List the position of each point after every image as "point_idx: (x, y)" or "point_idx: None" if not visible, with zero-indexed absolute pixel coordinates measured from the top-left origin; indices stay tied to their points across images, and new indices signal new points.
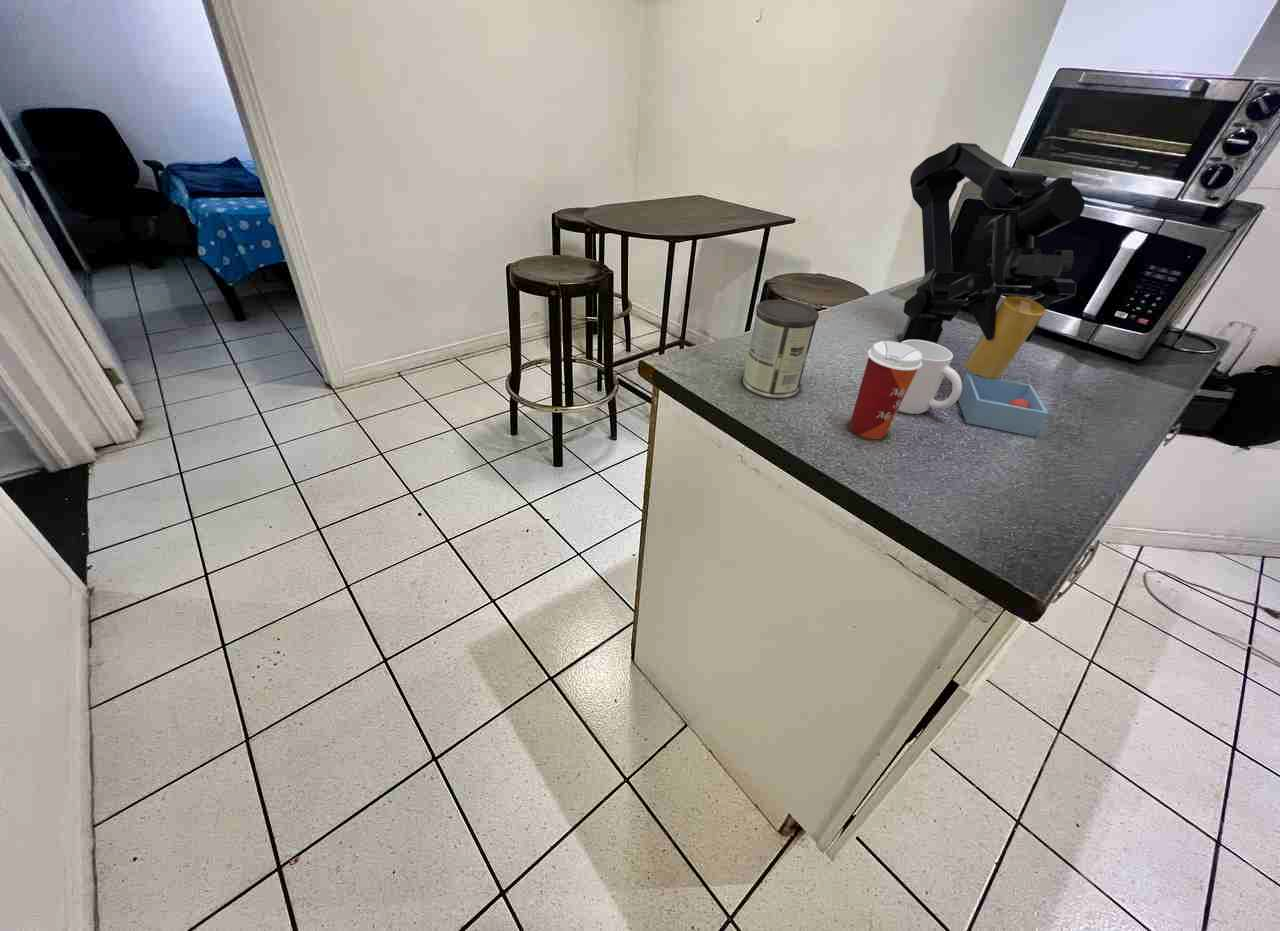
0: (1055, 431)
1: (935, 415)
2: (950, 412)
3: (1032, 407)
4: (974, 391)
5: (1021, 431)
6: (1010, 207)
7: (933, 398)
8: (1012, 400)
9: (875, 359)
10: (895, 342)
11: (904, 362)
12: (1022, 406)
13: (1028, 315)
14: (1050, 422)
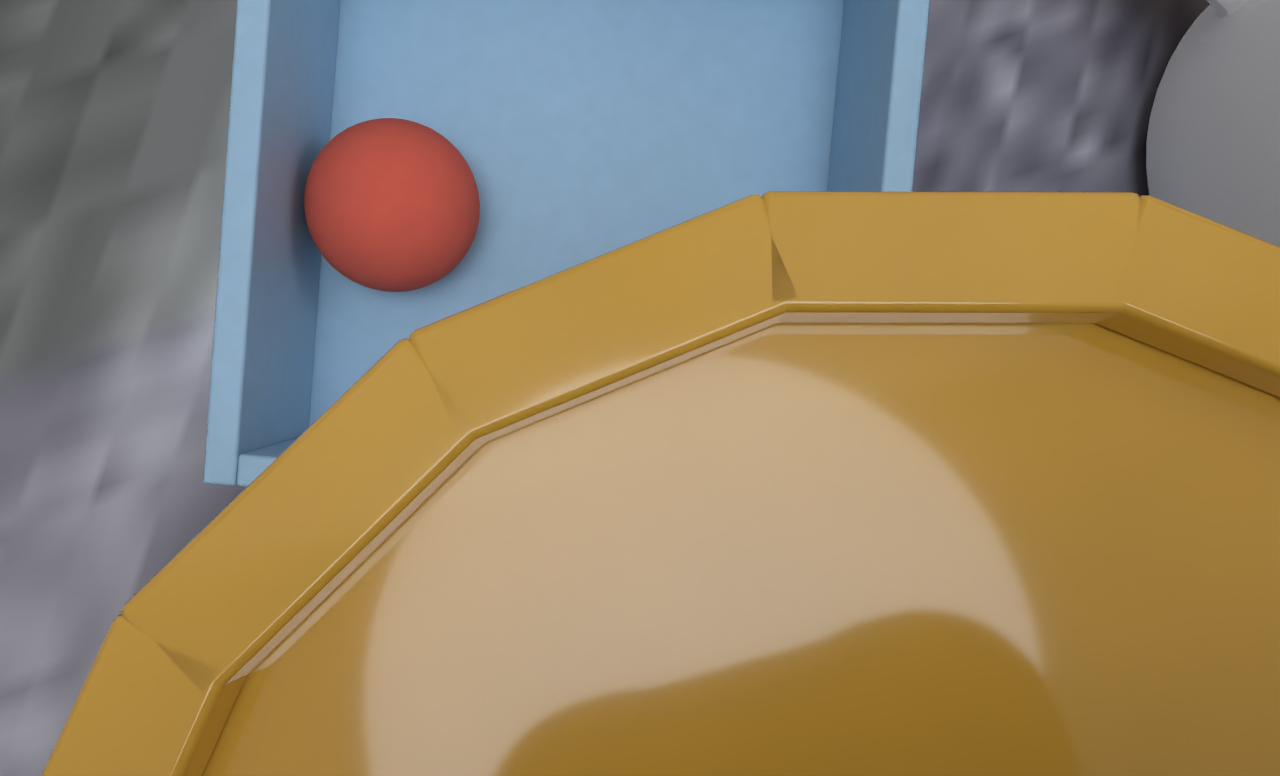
0: (98, 75)
1: (1095, 25)
2: (951, 126)
3: (293, 121)
4: (921, 65)
5: None
6: None
7: (1249, 2)
8: (452, 228)
9: None
10: None
11: None
12: (387, 124)
13: (951, 206)
14: (85, 236)
